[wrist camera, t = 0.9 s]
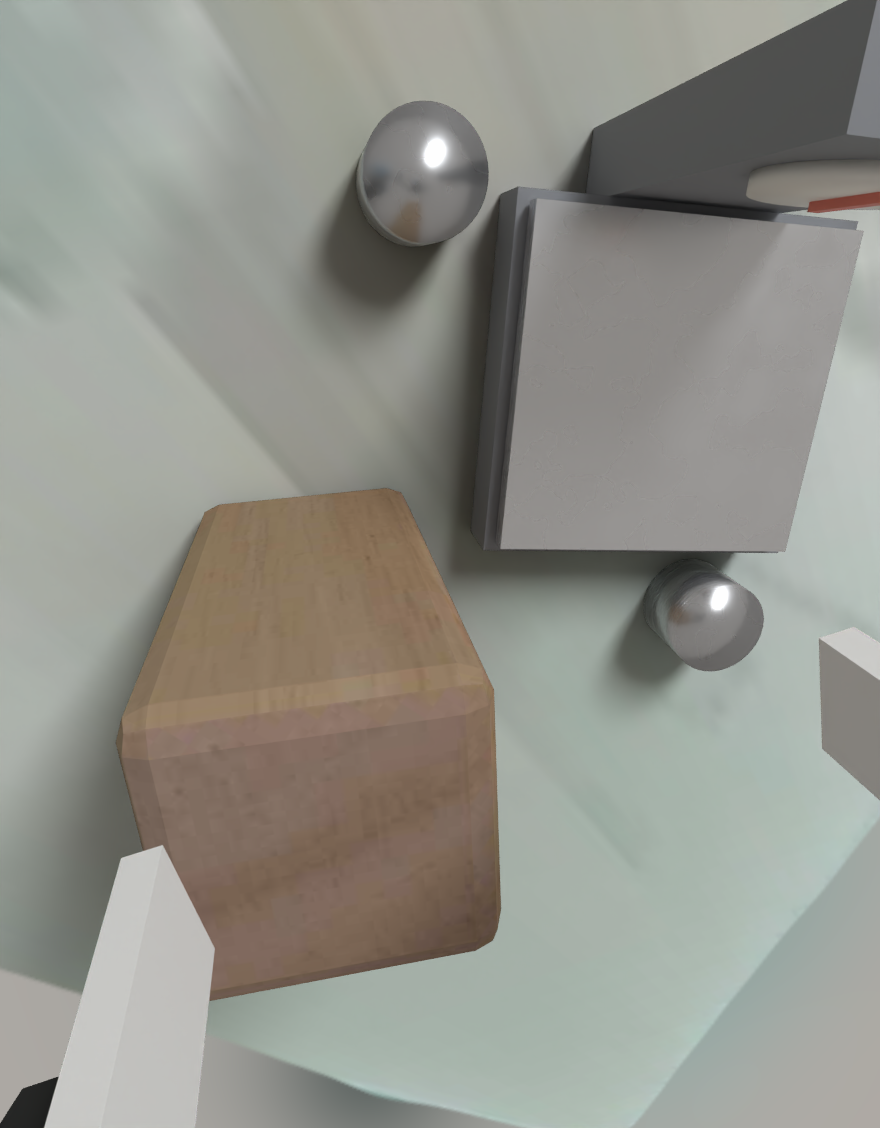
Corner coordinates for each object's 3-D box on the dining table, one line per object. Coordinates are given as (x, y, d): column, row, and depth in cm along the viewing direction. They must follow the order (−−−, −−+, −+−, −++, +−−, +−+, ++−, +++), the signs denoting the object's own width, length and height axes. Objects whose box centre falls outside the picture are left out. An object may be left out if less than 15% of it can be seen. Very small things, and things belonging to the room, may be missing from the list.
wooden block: (416, 656, 41) (509, 959, 23) (232, 680, 40) (173, 1023, 22) (404, 481, 38) (501, 676, 19) (200, 501, 36) (97, 731, 18)
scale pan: (482, 524, 39) (500, 548, 35) (512, 206, 34) (536, 198, 30) (744, 528, 42) (784, 551, 38) (809, 235, 36) (863, 230, 33)
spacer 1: (354, 241, 33) (360, 237, 30) (357, 114, 32) (364, 93, 28) (463, 251, 34) (482, 248, 31) (472, 127, 33) (494, 108, 29)
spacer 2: (636, 638, 44) (667, 672, 40) (651, 558, 42) (684, 585, 38) (715, 637, 44) (752, 670, 41) (732, 559, 43) (773, 585, 39)
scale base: (470, 530, 39) (594, 716, 23) (507, 117, 33) (718, -45, 16) (746, 534, 42) (1034, 701, 26) (831, 156, 36) (1291, 53, 19)
